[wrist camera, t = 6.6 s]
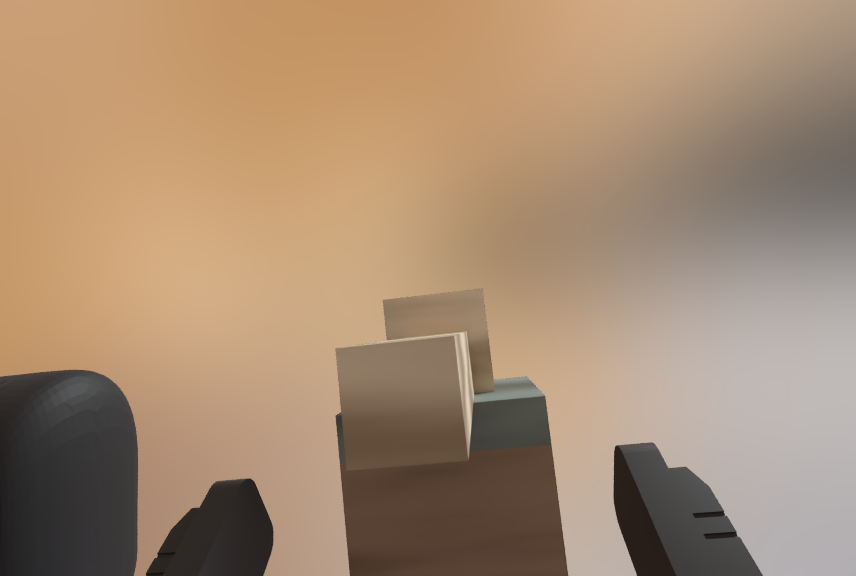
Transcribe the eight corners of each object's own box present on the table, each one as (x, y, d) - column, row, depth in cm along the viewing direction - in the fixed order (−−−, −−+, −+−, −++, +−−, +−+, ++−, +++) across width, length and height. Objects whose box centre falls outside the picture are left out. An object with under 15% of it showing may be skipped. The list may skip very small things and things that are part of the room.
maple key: (510, 457, 12) (485, 250, 12) (307, 473, 12) (290, 274, 12) (492, 379, 28) (482, 295, 29) (407, 388, 29) (399, 304, 29)
